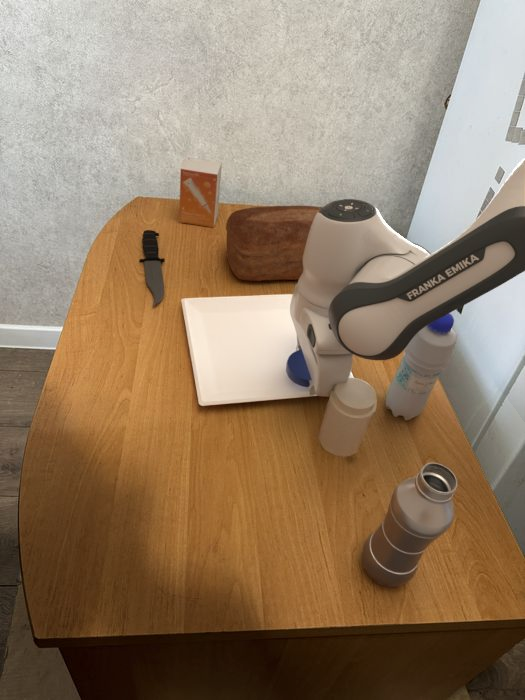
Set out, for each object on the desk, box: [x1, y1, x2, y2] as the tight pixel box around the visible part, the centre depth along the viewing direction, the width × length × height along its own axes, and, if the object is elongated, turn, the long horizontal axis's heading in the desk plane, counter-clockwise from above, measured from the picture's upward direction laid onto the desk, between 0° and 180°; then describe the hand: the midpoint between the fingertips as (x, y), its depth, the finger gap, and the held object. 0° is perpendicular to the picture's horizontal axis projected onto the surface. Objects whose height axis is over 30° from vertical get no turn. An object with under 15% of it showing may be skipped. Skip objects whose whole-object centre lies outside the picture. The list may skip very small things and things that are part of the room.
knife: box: [138, 229, 165, 308], centre depth 105 cm, size 25×2×5 cm
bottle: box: [385, 313, 458, 421], centre depth 80 cm, size 7×7×20 cm
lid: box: [286, 350, 312, 387], centre depth 86 cm, size 7×7×2 cm
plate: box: [180, 293, 355, 407], centre depth 92 cm, size 26×26×2 cm
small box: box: [178, 156, 223, 229], centre depth 118 cm, size 8×6×13 cm
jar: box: [317, 377, 377, 457], centre depth 77 cm, size 7×7×10 cm
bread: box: [225, 205, 324, 282], centre depth 109 cm, size 14×28×12 cm, turn 105°
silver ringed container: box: [361, 462, 458, 588], centre depth 59 cm, size 6×7×20 cm
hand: (307, 372), depth 86 cm, fingers closed on lid, 7 cm apart
